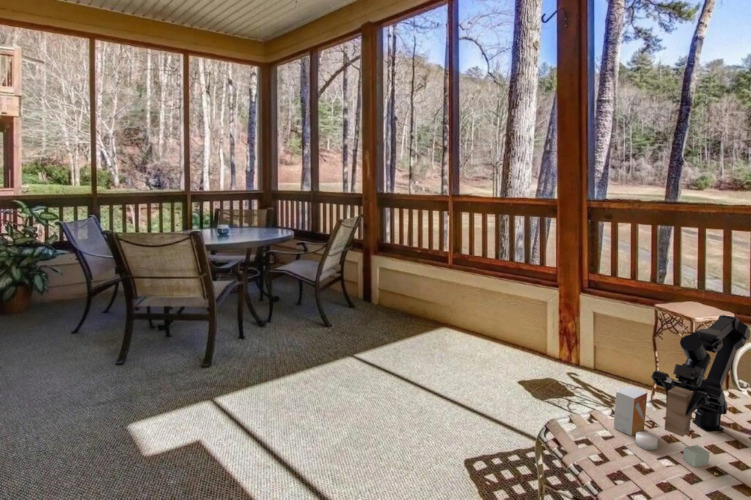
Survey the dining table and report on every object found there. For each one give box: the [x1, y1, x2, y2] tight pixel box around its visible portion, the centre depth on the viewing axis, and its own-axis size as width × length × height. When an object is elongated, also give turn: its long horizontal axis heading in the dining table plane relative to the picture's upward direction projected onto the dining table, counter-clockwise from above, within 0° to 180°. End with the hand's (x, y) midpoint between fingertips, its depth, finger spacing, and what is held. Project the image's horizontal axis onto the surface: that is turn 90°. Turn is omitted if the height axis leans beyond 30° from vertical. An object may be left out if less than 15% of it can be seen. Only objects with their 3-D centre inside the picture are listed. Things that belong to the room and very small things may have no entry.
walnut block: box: [664, 386, 693, 437], centre depth 147 cm, size 5×5×12 cm
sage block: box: [682, 444, 710, 468], centre depth 143 cm, size 5×4×4 cm
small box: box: [613, 385, 648, 437], centre depth 161 cm, size 8×6×13 cm
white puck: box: [635, 430, 659, 451], centre depth 152 cm, size 6×6×3 cm
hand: (676, 411), depth 146 cm, fingers closed on walnut block, 5 cm apart
